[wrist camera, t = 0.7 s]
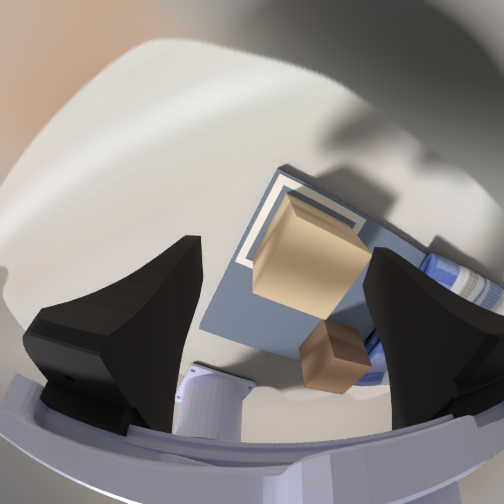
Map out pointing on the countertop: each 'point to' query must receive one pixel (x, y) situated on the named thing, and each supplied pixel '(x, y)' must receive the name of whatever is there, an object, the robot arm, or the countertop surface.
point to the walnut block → (333, 357)
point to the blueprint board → (278, 315)
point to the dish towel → (454, 280)
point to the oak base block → (307, 259)
